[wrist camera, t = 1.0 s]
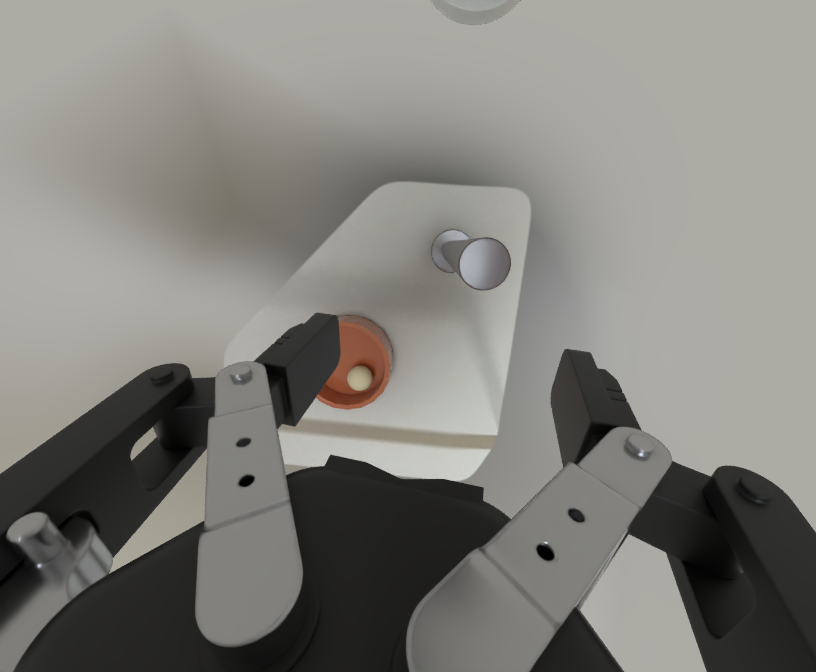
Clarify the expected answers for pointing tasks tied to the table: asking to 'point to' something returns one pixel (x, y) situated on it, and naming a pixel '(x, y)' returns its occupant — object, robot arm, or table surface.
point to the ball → (360, 378)
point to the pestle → (472, 259)
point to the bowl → (358, 363)
